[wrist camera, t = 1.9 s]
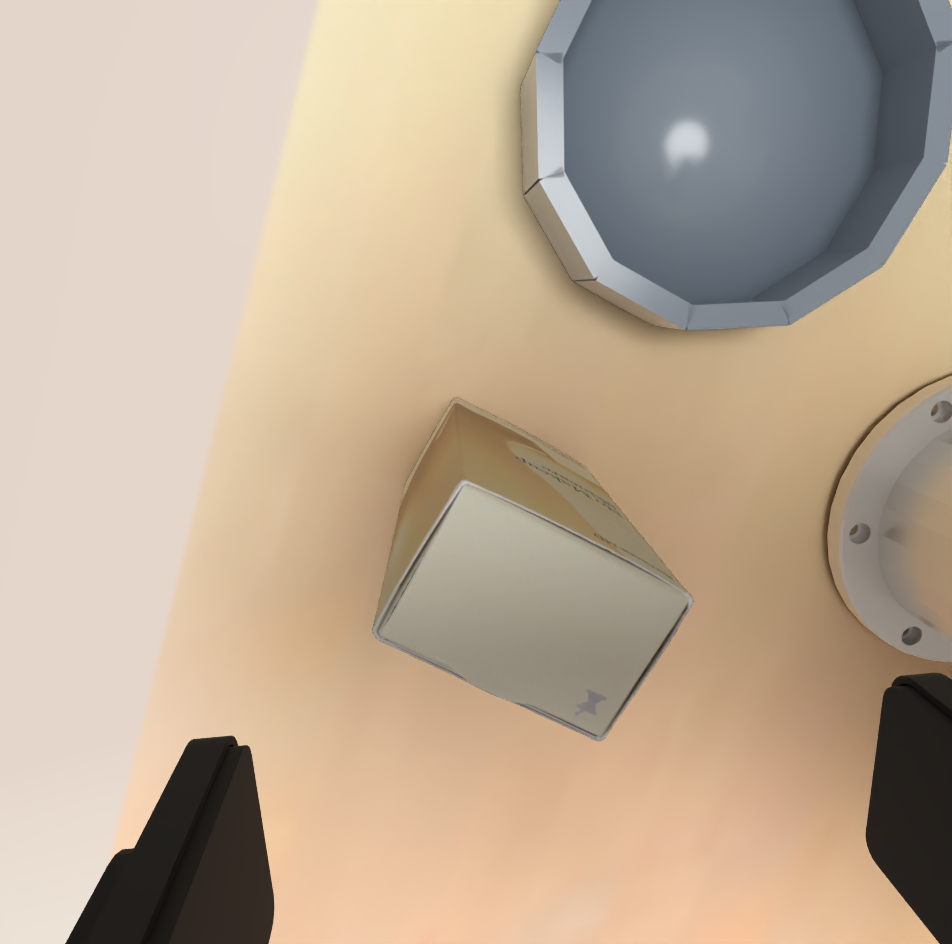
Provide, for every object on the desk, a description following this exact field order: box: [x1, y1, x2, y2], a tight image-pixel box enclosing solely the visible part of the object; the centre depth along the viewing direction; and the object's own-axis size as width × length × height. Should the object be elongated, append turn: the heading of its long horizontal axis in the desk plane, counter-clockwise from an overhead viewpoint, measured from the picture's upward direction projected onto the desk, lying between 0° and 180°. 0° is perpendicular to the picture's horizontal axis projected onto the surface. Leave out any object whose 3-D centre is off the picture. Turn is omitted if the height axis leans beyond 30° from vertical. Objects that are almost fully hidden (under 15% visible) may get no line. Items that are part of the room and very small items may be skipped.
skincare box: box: [372, 398, 694, 741], centre depth 21 cm, size 6×4×12 cm
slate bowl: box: [520, 0, 952, 331], centre depth 22 cm, size 13×13×4 cm
